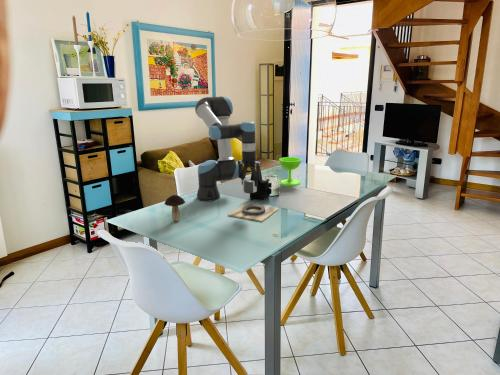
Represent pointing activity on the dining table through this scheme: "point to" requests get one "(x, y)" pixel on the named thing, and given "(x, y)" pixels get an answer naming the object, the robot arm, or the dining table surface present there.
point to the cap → (248, 186)
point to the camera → (261, 189)
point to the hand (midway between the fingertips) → (249, 191)
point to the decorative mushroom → (175, 206)
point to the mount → (253, 212)
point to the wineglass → (290, 164)
